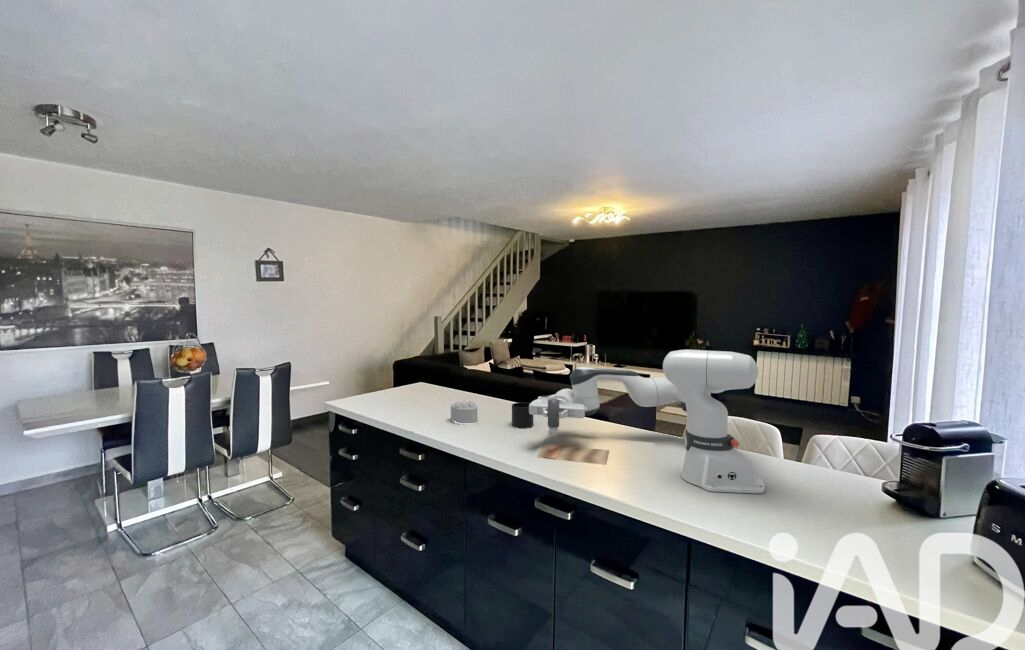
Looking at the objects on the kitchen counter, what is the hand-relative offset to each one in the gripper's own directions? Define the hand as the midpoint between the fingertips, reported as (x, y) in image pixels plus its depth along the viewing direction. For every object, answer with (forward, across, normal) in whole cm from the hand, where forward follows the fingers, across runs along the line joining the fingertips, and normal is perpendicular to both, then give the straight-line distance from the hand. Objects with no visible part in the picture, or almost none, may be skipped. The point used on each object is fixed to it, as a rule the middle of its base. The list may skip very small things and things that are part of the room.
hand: (552, 415), depth 147 cm
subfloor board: (-1, -7, -15) cm, 16 cm away
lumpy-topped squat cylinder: (-32, +47, -15) cm, 59 cm away
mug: (-35, +20, -15) cm, 43 cm away
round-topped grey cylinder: (-1, 0, -7) cm, 7 cm away
